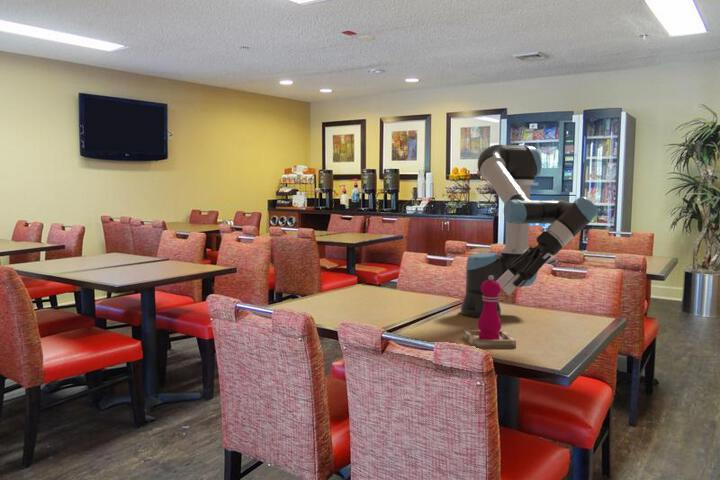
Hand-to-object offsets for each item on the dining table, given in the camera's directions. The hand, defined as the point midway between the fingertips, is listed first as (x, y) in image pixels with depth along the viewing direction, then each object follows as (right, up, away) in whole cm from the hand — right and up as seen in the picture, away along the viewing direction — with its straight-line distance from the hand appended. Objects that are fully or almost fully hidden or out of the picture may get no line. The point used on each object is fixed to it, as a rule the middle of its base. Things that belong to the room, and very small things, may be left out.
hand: (500, 289), depth 176 cm
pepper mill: (-3, -16, +1) cm, 16 cm away
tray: (-3, -16, +1) cm, 17 cm away
